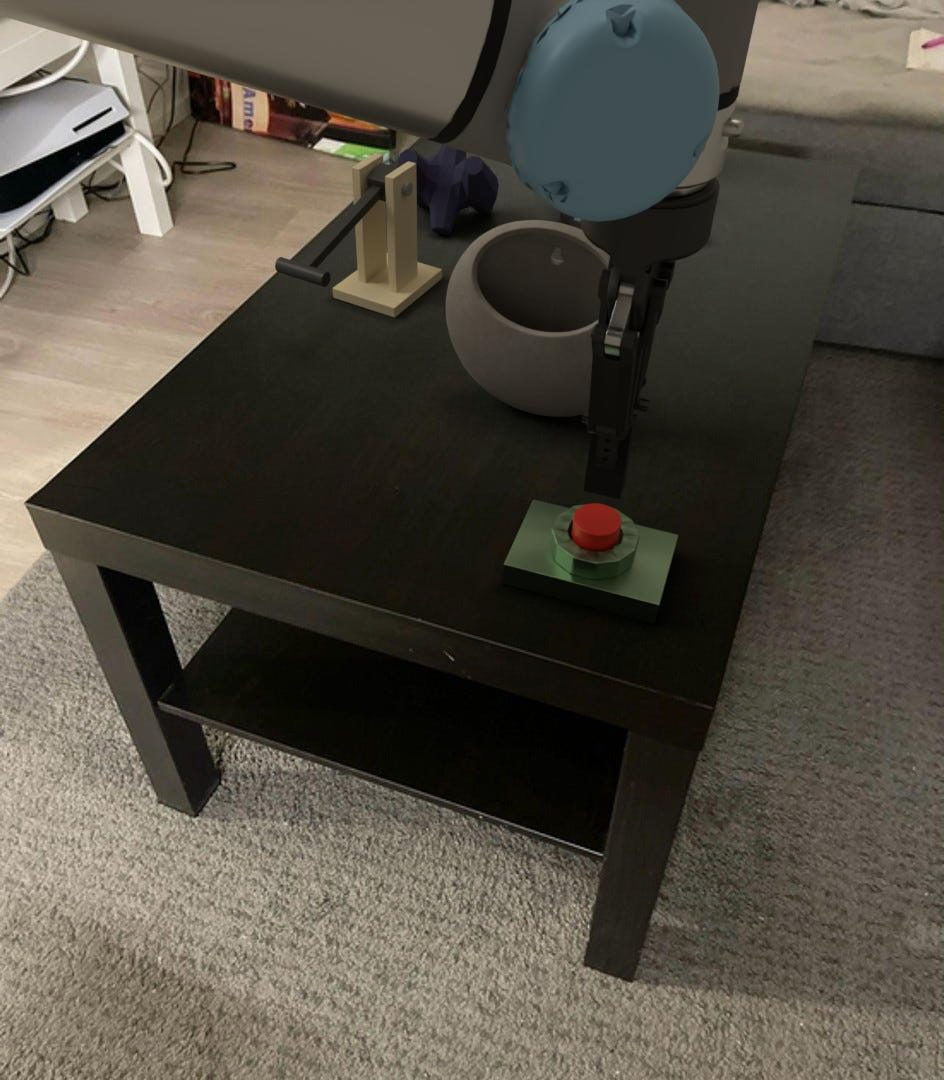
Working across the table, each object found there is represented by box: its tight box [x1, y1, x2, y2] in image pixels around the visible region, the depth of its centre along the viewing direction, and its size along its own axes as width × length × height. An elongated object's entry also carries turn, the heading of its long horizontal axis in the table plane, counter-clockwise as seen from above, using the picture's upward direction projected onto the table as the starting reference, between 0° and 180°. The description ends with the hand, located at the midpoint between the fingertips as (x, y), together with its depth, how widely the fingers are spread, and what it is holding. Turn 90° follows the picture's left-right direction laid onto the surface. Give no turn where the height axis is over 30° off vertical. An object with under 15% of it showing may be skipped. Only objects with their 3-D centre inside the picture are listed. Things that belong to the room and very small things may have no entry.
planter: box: [445, 219, 610, 418], centre depth 84 cm, size 18×7×19 cm, turn 70°
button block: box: [501, 499, 679, 625], centre depth 74 cm, size 12×8×4 cm, turn 71°
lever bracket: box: [332, 152, 443, 319], centre depth 102 cm, size 10×8×14 cm
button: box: [572, 502, 622, 552], centre depth 73 cm, size 4×4×2 cm
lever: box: [274, 162, 399, 288], centre depth 95 cm, size 17×6×2 cm, turn 151°
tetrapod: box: [397, 144, 500, 236], centre depth 115 cm, size 11×12×11 cm
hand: (603, 488), depth 70 cm, fingers closed
